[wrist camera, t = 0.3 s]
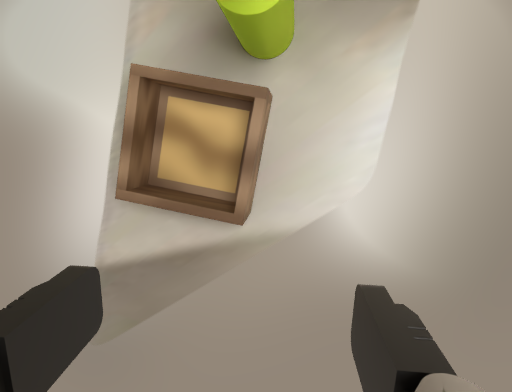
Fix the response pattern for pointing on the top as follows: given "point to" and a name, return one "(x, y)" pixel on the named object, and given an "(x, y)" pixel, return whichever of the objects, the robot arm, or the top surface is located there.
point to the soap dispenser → (261, 25)
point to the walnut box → (192, 143)
